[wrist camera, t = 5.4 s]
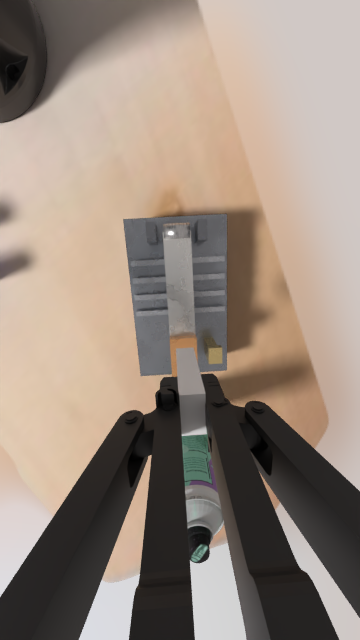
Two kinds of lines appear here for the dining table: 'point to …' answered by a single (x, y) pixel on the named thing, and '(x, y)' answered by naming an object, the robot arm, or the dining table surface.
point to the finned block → (152, 290)
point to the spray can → (200, 497)
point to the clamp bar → (179, 288)
